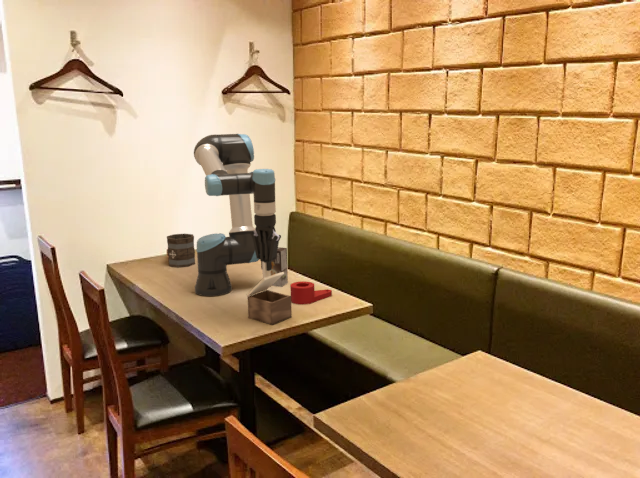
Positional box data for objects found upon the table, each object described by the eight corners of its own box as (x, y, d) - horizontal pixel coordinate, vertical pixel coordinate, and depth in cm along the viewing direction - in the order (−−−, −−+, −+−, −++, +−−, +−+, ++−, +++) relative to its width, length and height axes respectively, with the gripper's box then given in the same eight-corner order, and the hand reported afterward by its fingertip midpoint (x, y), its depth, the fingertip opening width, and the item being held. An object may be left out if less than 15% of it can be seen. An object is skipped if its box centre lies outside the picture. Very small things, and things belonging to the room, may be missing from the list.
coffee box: (288, 283, 246) (287, 247, 242) (282, 287, 240) (281, 251, 236) (269, 281, 249) (268, 246, 245) (263, 285, 243) (261, 249, 240)
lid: (247, 296, 203) (246, 294, 203) (266, 289, 211) (265, 287, 211) (265, 279, 196) (263, 277, 196) (284, 273, 203) (283, 271, 204)
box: (248, 317, 205) (247, 296, 203) (267, 310, 212) (267, 289, 211) (272, 325, 197) (271, 303, 196) (291, 317, 205) (291, 296, 203)
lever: (298, 306, 217) (297, 289, 216) (286, 299, 225) (286, 283, 223) (337, 298, 226) (337, 282, 225) (325, 292, 234) (324, 276, 232)
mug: (201, 266, 274) (199, 236, 271) (175, 272, 266) (173, 240, 262) (182, 259, 289) (180, 230, 286) (157, 264, 280) (155, 234, 277)
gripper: (244, 213, 198) (246, 278, 203) (270, 217, 190) (272, 284, 195) (259, 210, 204) (261, 273, 209) (285, 214, 196) (287, 279, 201)
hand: (266, 278), depth 202 cm, fingers closed
